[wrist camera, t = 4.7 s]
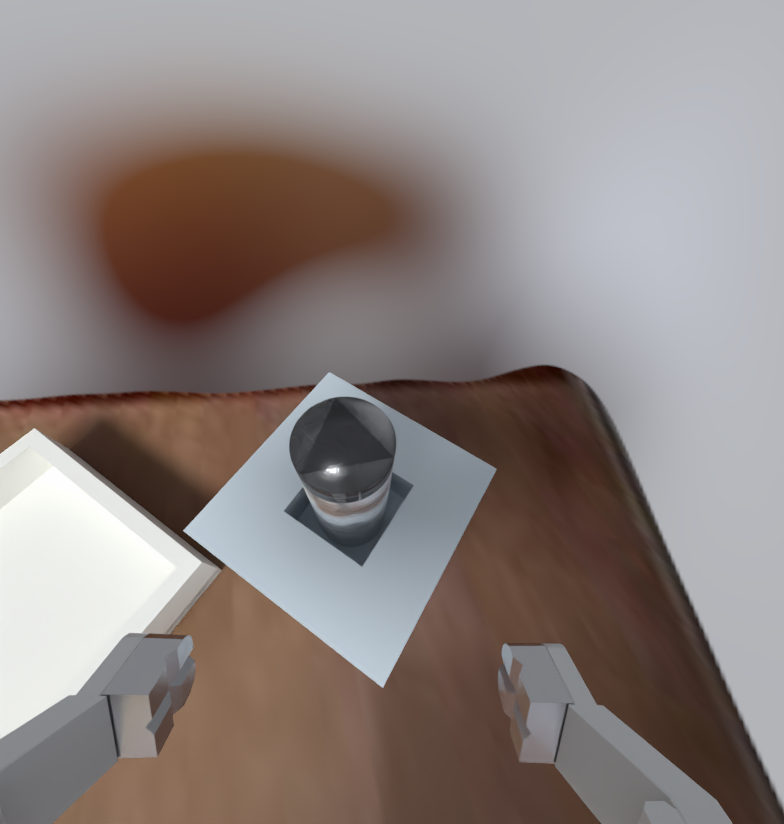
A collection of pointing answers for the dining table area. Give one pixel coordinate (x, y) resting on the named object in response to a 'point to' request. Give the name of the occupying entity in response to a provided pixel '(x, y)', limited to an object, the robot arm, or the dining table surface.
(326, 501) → the steel pin
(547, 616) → the dining table surface
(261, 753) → the dining table surface
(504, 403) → the dining table surface
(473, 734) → the dining table surface
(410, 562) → the socket block
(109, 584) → the tray
